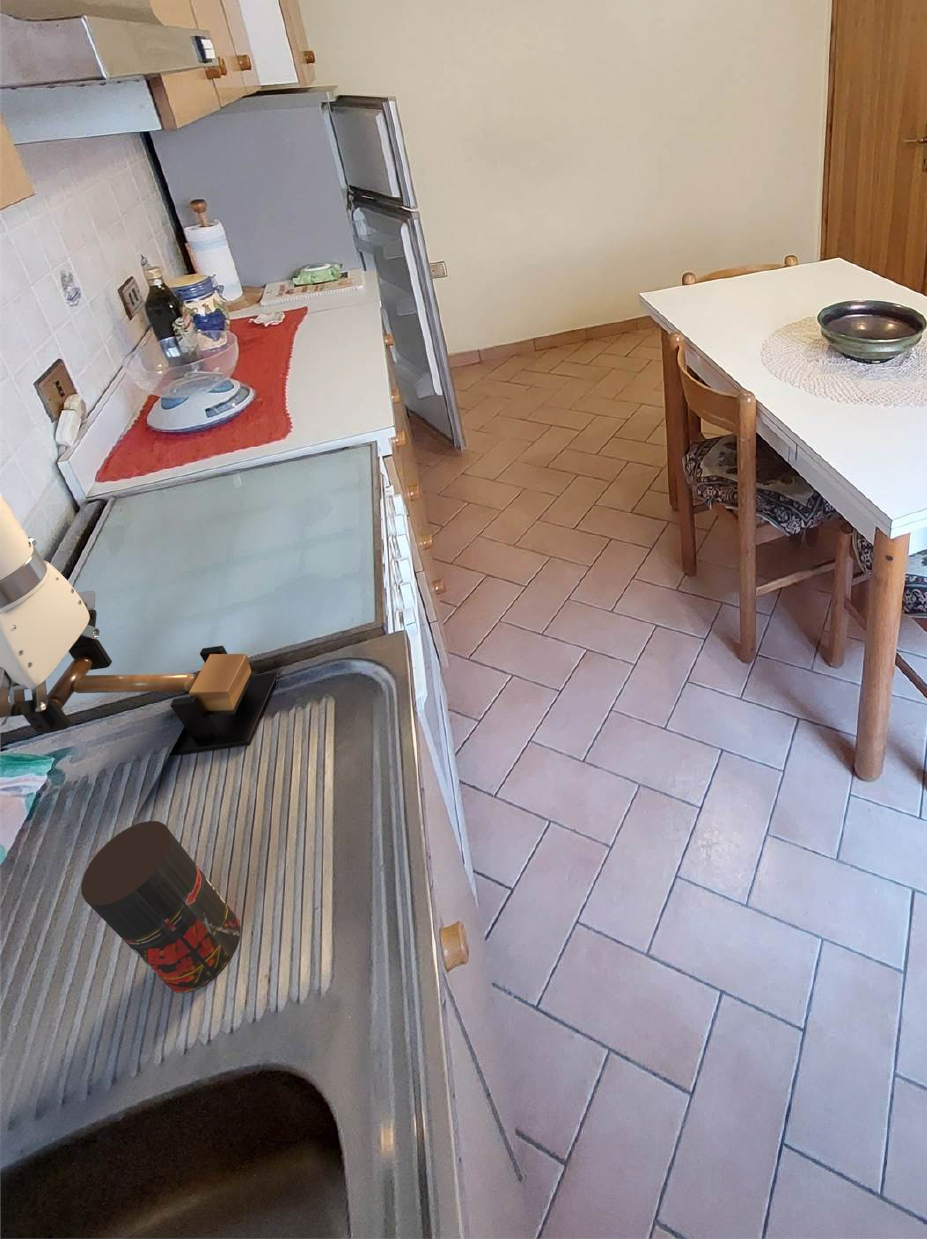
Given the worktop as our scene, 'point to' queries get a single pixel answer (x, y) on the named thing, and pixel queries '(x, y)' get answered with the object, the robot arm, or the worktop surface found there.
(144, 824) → the deodorant
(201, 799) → the worktop surface
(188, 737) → the brush stand
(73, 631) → the robot arm
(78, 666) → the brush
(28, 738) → the worktop surface
